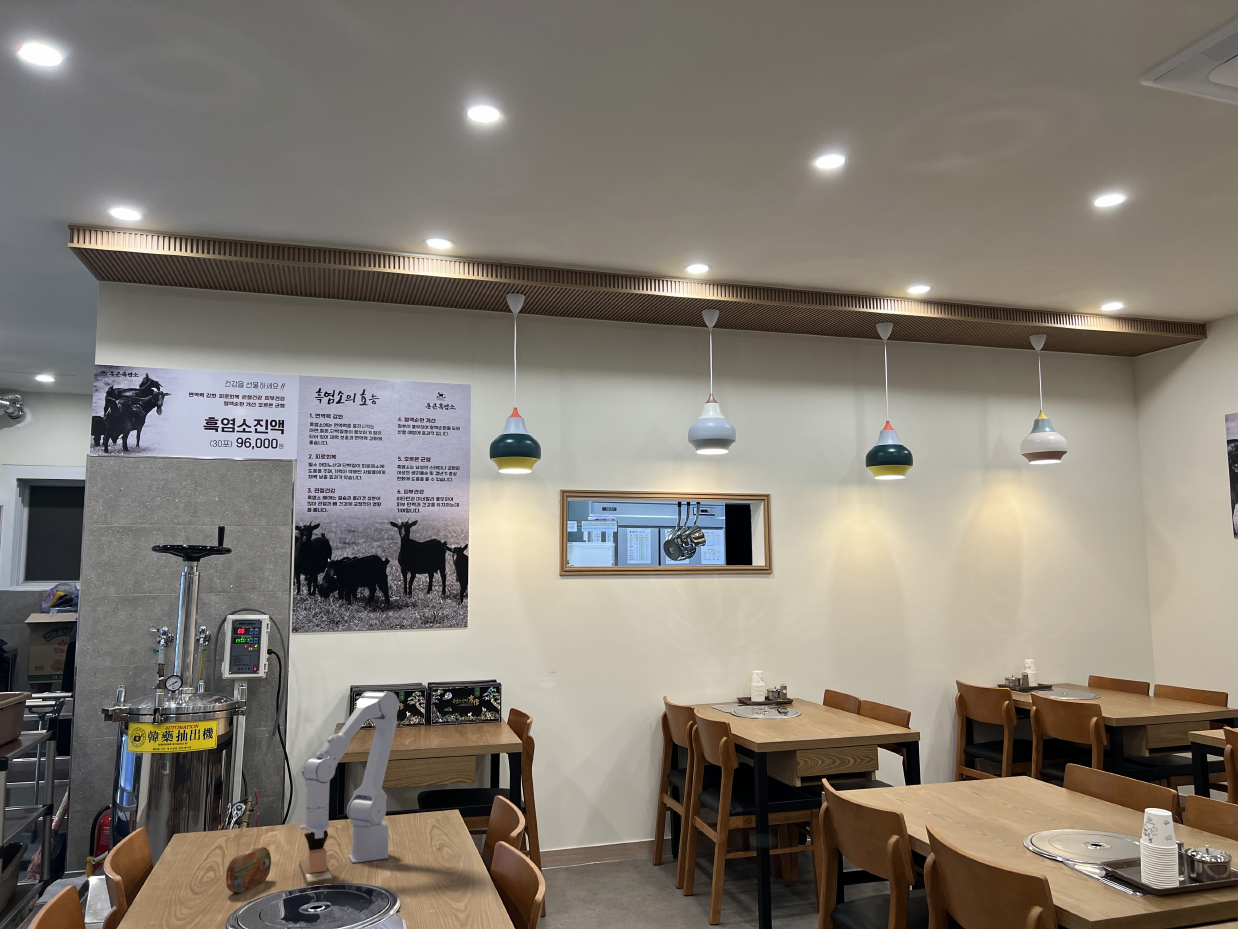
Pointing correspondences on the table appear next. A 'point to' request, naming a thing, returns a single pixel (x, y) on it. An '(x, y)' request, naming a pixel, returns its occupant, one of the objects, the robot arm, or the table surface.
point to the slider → (317, 860)
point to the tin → (248, 870)
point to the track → (315, 875)
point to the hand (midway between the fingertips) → (315, 862)
